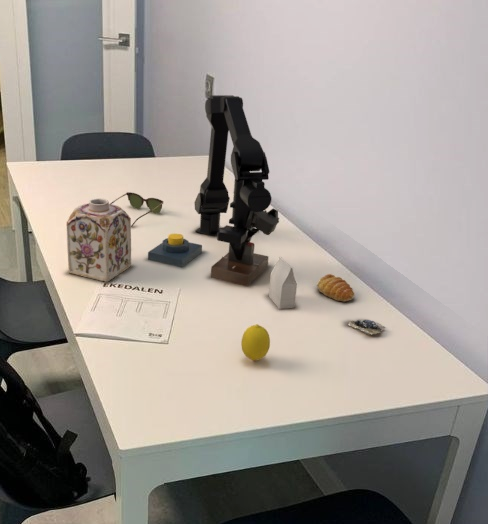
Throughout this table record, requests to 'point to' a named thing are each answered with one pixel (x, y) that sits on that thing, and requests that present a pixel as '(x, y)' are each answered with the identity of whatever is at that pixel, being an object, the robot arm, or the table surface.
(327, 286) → the pastry
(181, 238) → the button
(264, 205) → the robot arm
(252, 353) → the lemon
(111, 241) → the decorative jar
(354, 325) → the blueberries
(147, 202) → the sunglasses
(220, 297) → the table surface
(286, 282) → the grey wedge block
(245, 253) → the dark grey block
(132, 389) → the table surface
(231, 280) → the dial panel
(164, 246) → the blue button base
